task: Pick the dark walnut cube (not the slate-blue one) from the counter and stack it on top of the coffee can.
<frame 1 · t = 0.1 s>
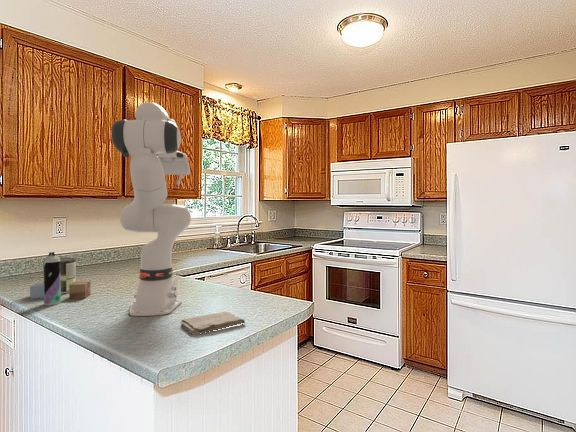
hand: (167, 184, 170), 48 cm above the worktop, tool pointing down, fingers open, 8 cm apart
coffee can: (62, 291, 161), on the worktop
washcloth: (212, 327, 118), on the worktop
spray can: (52, 304, 141), on the worktop
slate block: (38, 296, 152), on the worktop
walnut block: (80, 296, 152), on the worktop
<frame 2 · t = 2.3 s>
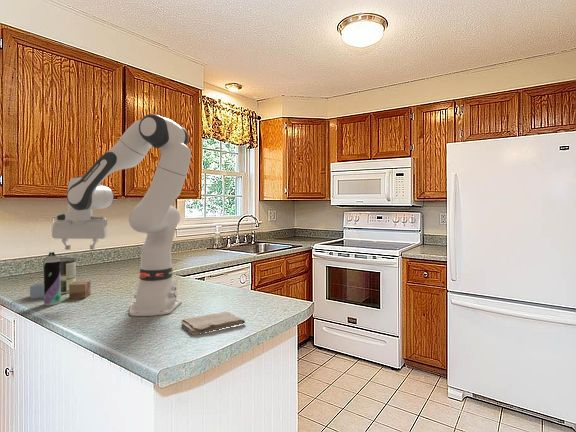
hand: (80, 249, 151), 20 cm above the worktop, tool pointing down, fingers open, 8 cm apart
nothing on the worktop moved.
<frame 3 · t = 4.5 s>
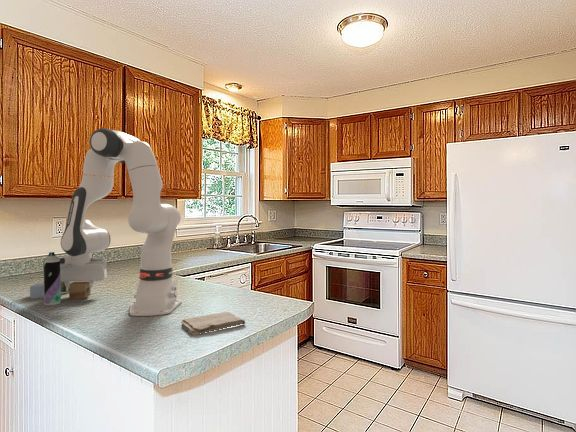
hand: (80, 291, 152), 2 cm above the worktop, tool pointing down, fingers closed on walnut block, 6 cm apart
walnut block: (80, 296, 152), on the worktop, touching gripper
everything else where it was.
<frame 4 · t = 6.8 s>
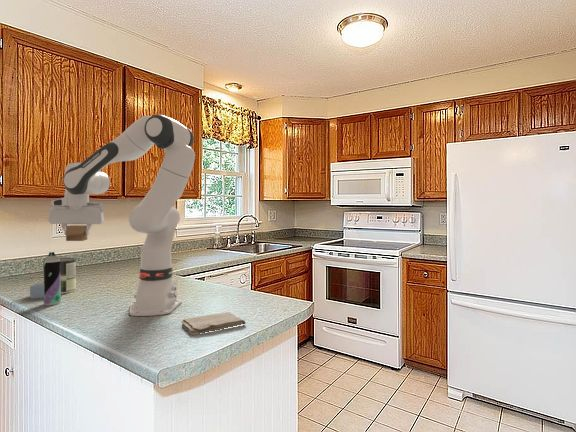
hand: (76, 234, 152), 26 cm above the worktop, tool pointing down, fingers closed on walnut block, 6 cm apart
walnut block: (77, 240, 152), point 23 cm above the worktop, touching gripper
everything else where it was.
when the fingers open (18 cm above the worktop, at t = 9.4 s): walnut block drops 1 cm, resting on coffee can.
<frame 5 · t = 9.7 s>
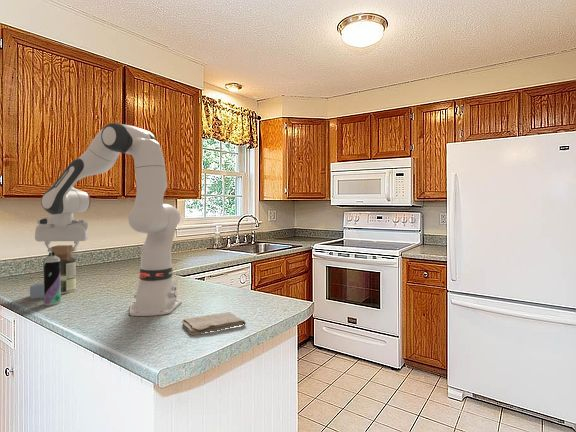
hand: (62, 251, 160), 18 cm above the worktop, tool pointing down, fingers open, 8 cm apart
coffee can: (62, 291, 161), on the worktop, touching walnut block
walnut block: (62, 259, 160), point 14 cm above the worktop, touching coffee can
everything else where it was.
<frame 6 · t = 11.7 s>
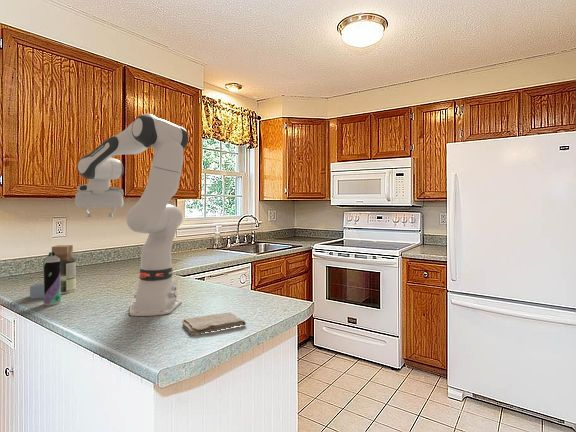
hand: (100, 217, 170), 32 cm above the worktop, tool pointing down, fingers open, 8 cm apart
nothing on the worktop moved.
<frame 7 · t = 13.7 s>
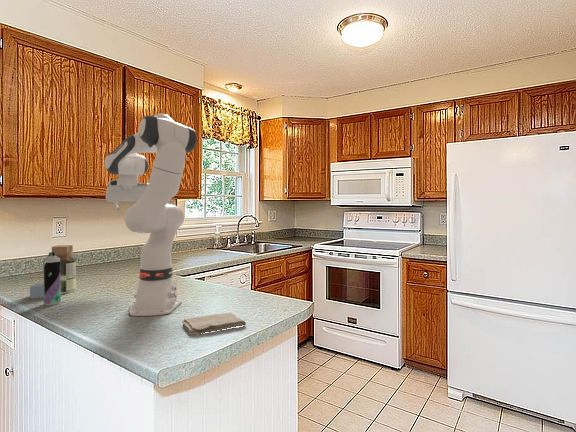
hand: (128, 211, 178), 35 cm above the worktop, tool pointing down, fingers open, 8 cm apart
nothing on the worktop moved.
at the end: walnut block inside the target area on the coffee can (0.1 cm from its centre), point 14.3 cm above the coffee can's base; the gripper is holding nothing; slate block moved 0.1 cm from its start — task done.
